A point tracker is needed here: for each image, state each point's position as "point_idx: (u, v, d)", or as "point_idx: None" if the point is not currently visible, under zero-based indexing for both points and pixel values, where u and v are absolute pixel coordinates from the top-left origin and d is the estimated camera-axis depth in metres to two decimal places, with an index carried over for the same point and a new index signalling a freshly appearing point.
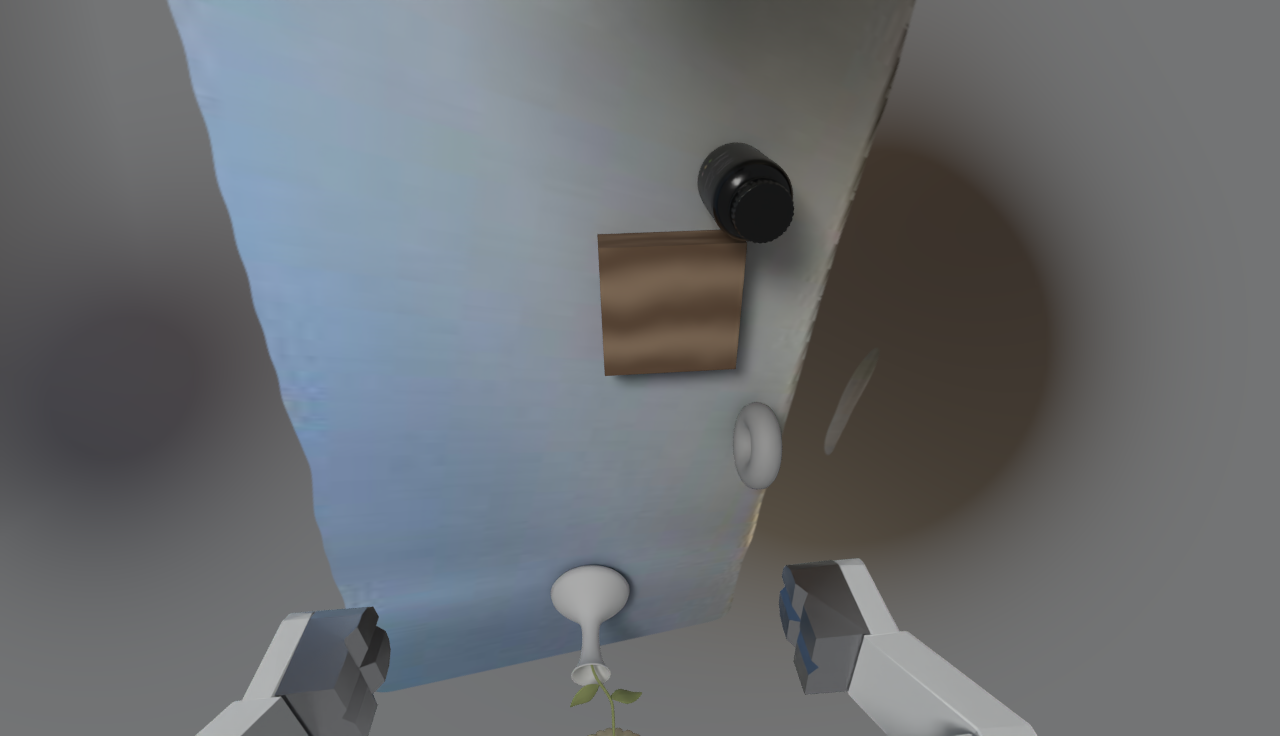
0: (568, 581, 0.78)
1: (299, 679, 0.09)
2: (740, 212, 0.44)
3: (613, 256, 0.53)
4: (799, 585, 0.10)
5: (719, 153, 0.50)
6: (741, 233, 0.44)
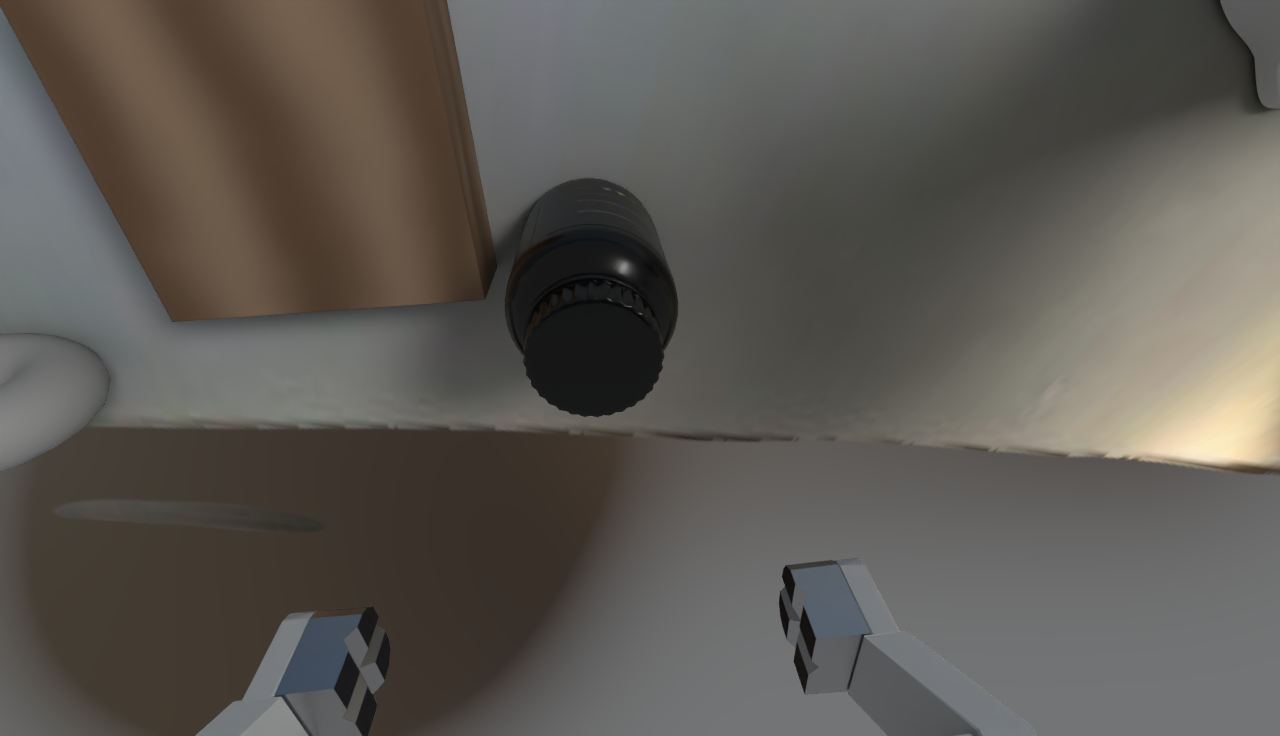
0: None
1: (299, 679, 0.09)
2: (595, 310, 0.18)
3: None
4: (799, 585, 0.10)
5: (648, 218, 0.26)
6: (543, 320, 0.18)
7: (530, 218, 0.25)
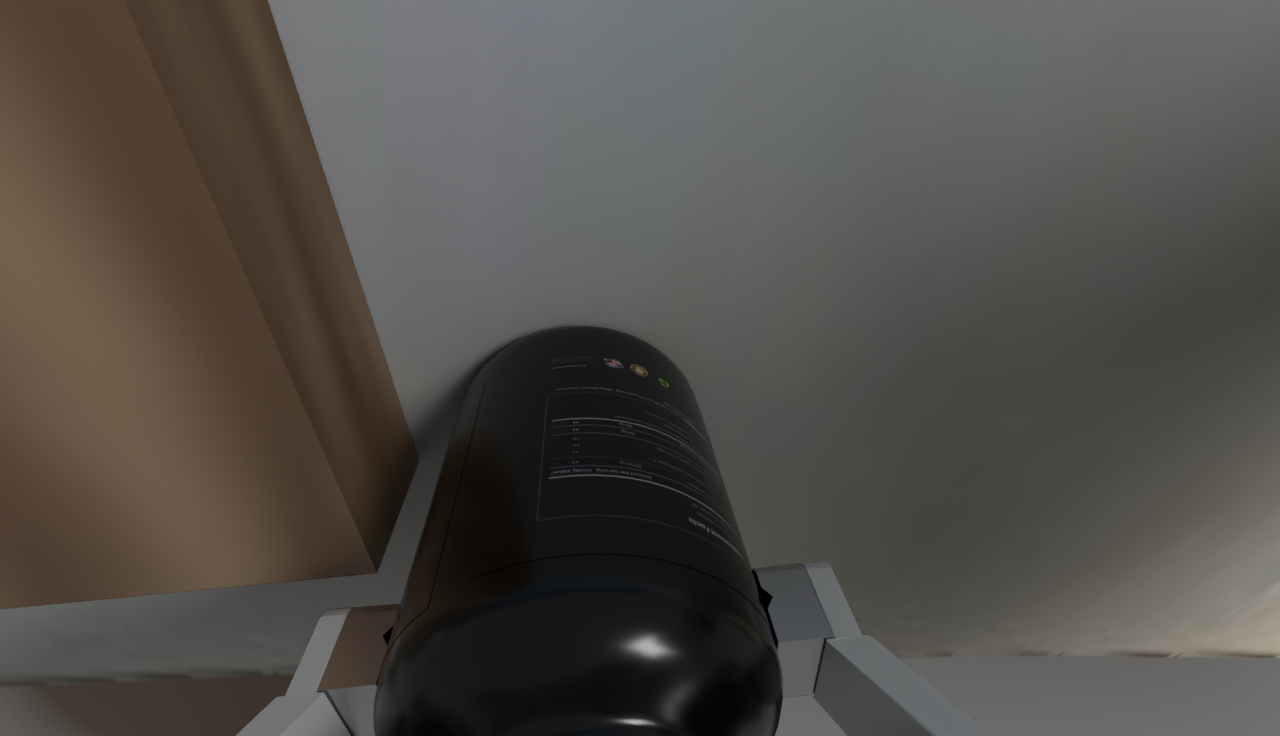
0: None
1: (340, 675, 0.09)
2: None
3: None
4: (765, 588, 0.10)
5: (694, 414, 0.14)
6: None
7: (461, 424, 0.13)
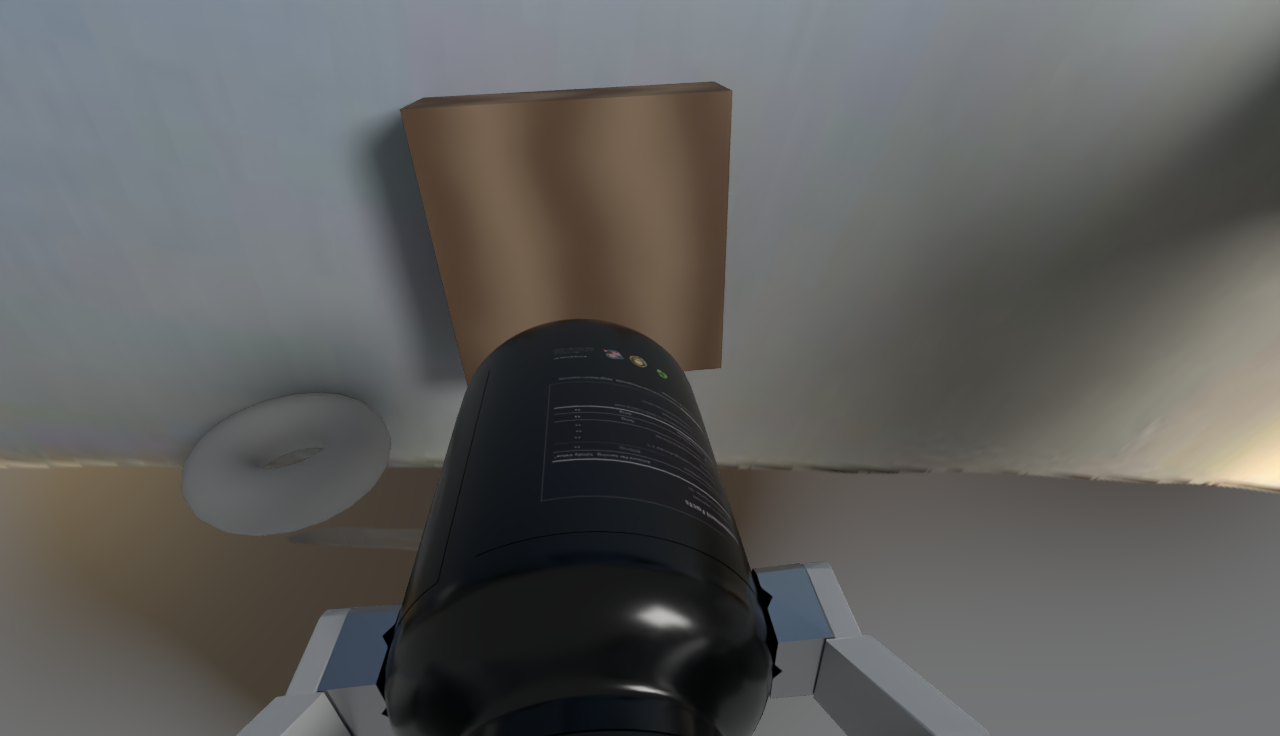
0: None
1: (340, 675, 0.09)
2: None
3: (712, 126, 0.25)
4: (765, 589, 0.10)
5: (691, 405, 0.14)
6: None
7: (466, 412, 0.13)
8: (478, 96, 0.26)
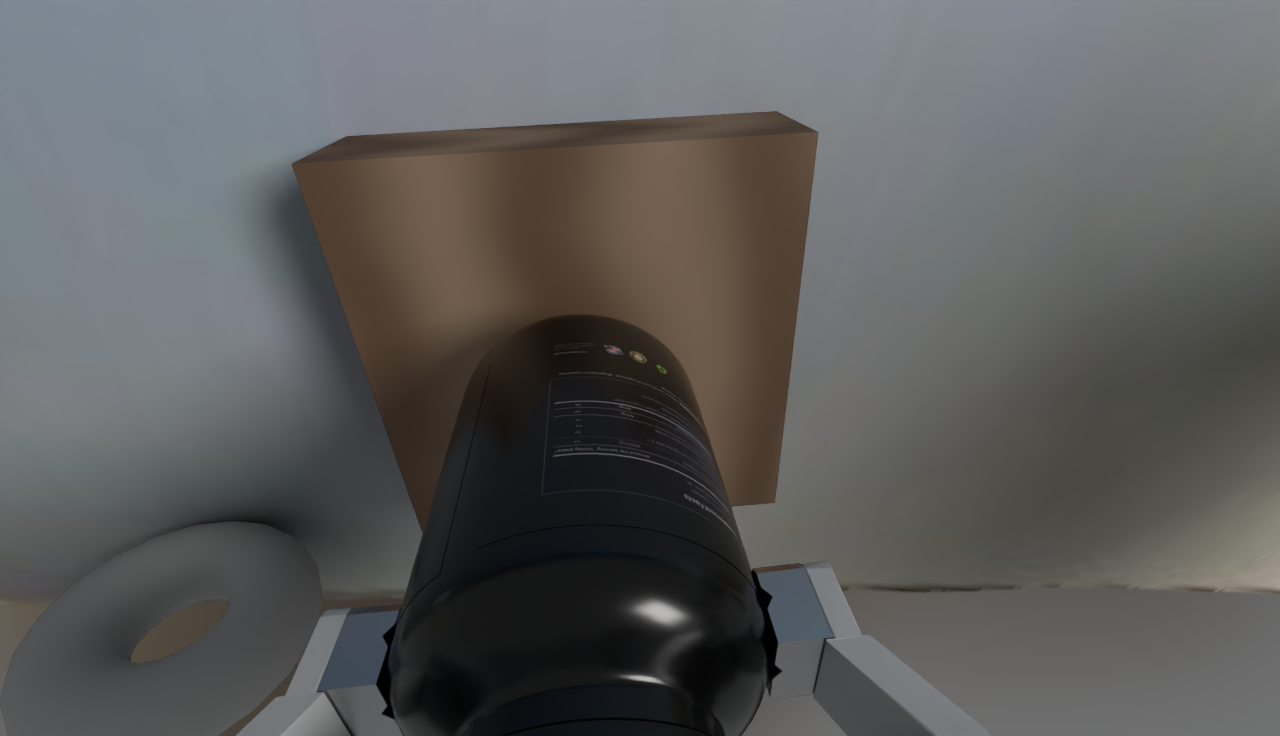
0: None
1: (340, 675, 0.09)
2: None
3: (783, 185, 0.16)
4: (765, 588, 0.10)
5: (690, 400, 0.14)
6: None
7: (467, 407, 0.13)
8: (427, 135, 0.18)
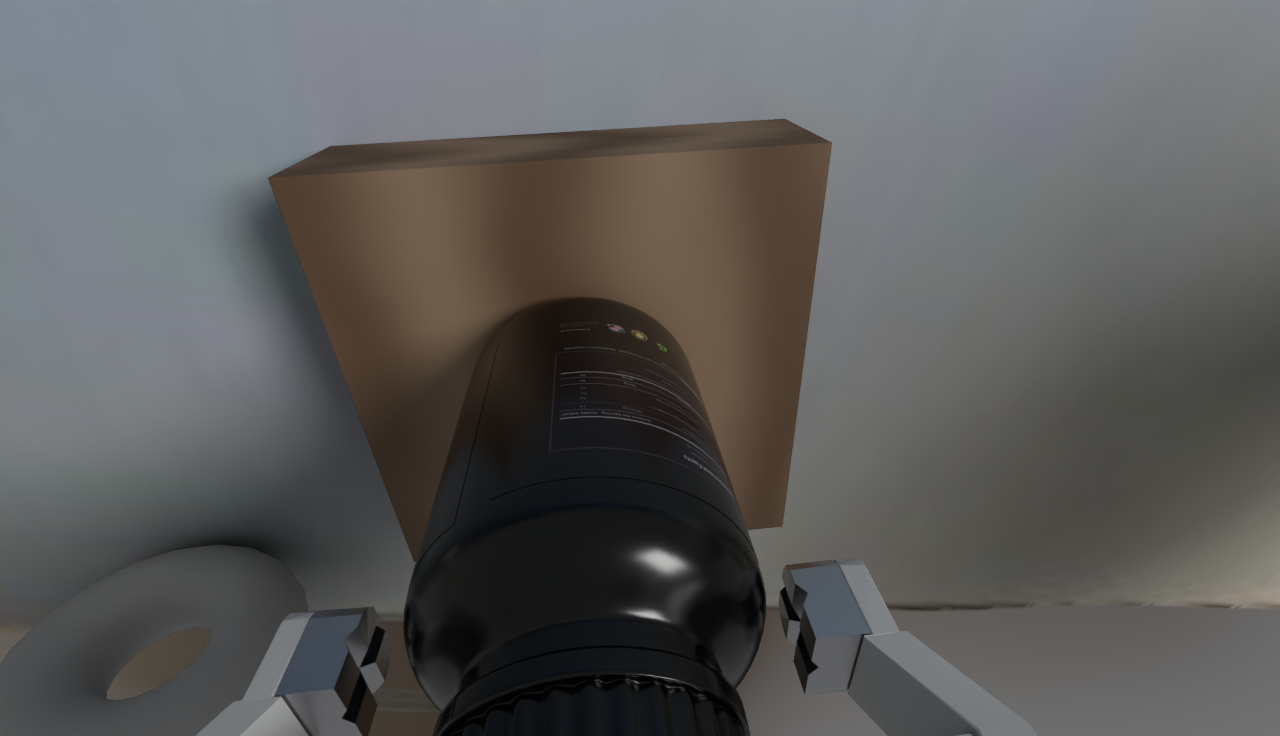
0: None
1: (299, 679, 0.09)
2: None
3: (794, 199, 0.15)
4: (799, 585, 0.10)
5: (689, 377, 0.15)
6: None
7: (476, 382, 0.14)
8: (415, 145, 0.17)
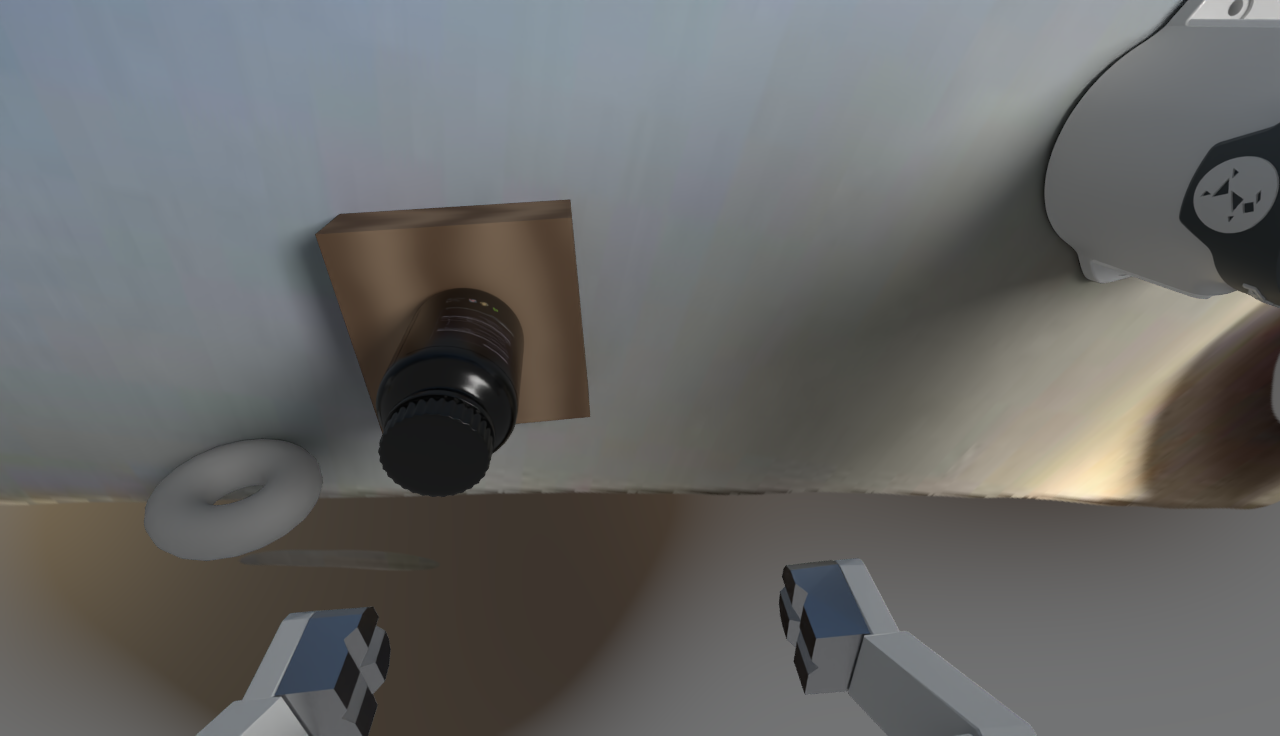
0: None
1: (299, 679, 0.09)
2: (430, 422, 0.24)
3: (558, 242, 0.33)
4: (799, 585, 0.10)
5: (508, 323, 0.32)
6: (391, 430, 0.24)
7: (409, 324, 0.31)
8: (382, 214, 0.34)
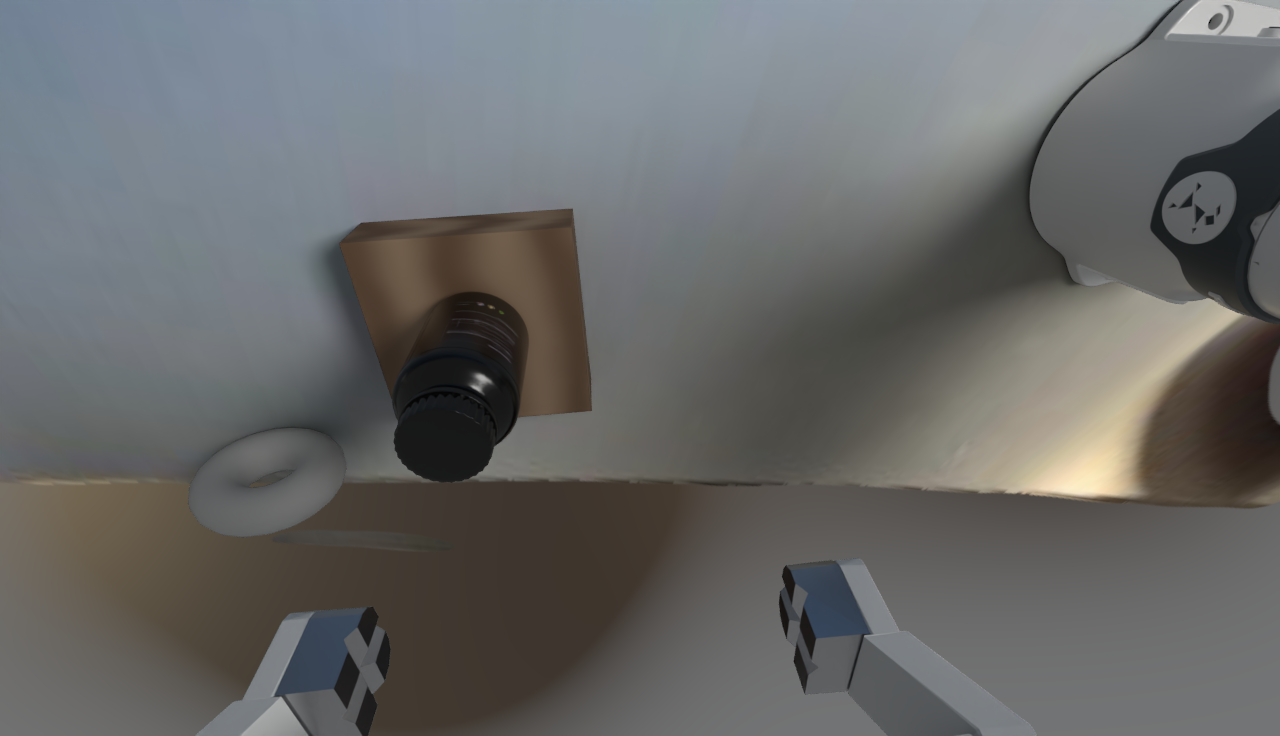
0: None
1: (299, 679, 0.09)
2: (438, 416, 0.27)
3: (560, 249, 0.35)
4: (799, 585, 0.10)
5: (513, 325, 0.35)
6: (404, 423, 0.27)
7: (423, 326, 0.34)
8: (399, 223, 0.37)
